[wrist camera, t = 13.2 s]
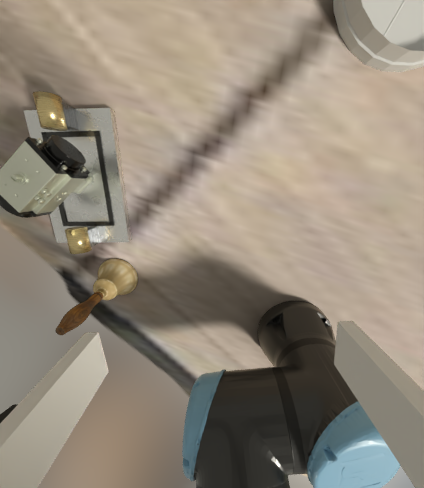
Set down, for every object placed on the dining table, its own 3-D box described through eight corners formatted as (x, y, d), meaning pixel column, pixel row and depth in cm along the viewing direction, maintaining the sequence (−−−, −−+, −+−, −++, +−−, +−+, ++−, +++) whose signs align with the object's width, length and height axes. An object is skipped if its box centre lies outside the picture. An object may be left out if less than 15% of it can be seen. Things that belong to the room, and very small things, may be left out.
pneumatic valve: (48, 190, 36) (-32, 193, 24) (92, 144, 33) (26, 125, 22) (72, 214, 37) (6, 229, 25) (116, 172, 35) (65, 167, 23)
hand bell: (127, 301, 44) (78, 364, 29) (92, 281, 43) (21, 336, 27) (145, 272, 42) (102, 324, 26) (108, 250, 40) (42, 292, 25)
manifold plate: (132, 242, 40) (116, 253, 33) (63, 242, 40) (34, 254, 34) (113, 107, 33) (89, 89, 27) (31, 109, 34) (-13, 93, 27)
